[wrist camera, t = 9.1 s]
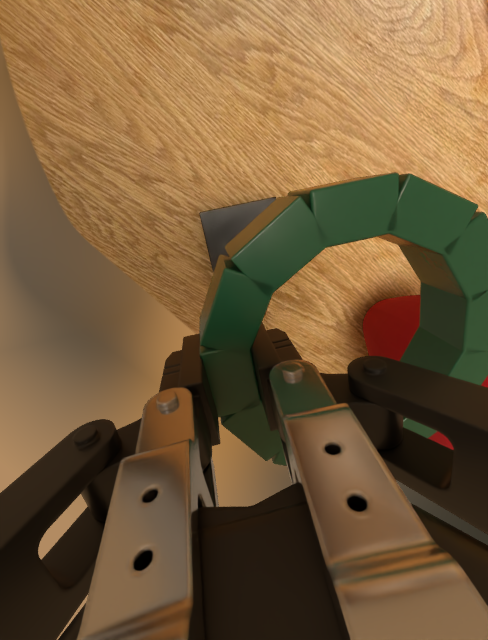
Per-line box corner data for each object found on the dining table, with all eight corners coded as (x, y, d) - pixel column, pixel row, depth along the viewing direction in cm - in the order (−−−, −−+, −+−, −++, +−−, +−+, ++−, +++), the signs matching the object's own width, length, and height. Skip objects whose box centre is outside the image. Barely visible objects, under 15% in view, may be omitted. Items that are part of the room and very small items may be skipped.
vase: (401, 374, 49) (667, 605, 21) (318, 352, 45) (507, 594, 17) (450, 287, 44) (871, 435, 16) (363, 255, 41) (711, 374, 13)
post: (216, 285, 40) (223, 323, 27) (199, 212, 36) (199, 218, 24) (284, 270, 40) (321, 301, 28) (273, 196, 37) (310, 195, 24)
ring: (233, 452, 14) (239, 499, 12) (169, 216, 10) (161, 220, 8) (447, 398, 15) (491, 434, 12) (467, 154, 11) (537, 143, 8)
